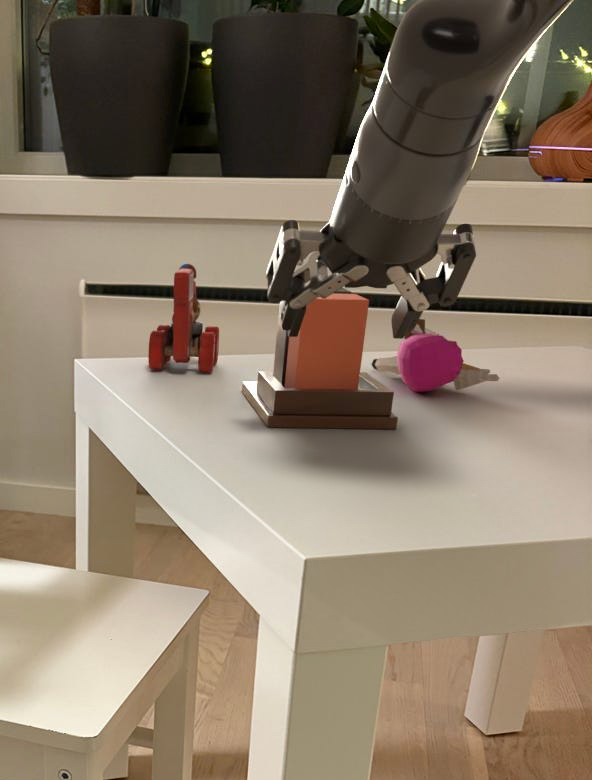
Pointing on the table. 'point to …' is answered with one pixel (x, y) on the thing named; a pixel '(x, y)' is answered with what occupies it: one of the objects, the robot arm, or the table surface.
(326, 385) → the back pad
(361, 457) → the table surface
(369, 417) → the brown wooden stand
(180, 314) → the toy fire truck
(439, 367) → the toy
